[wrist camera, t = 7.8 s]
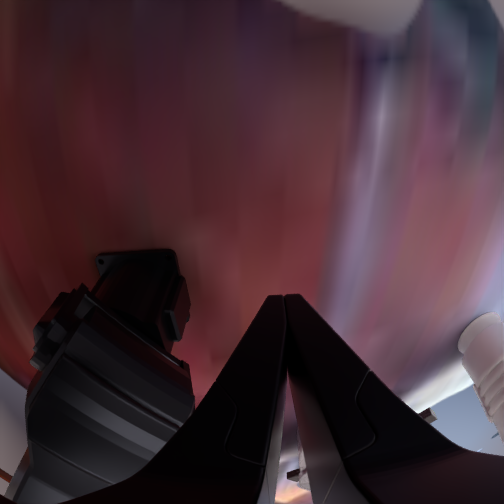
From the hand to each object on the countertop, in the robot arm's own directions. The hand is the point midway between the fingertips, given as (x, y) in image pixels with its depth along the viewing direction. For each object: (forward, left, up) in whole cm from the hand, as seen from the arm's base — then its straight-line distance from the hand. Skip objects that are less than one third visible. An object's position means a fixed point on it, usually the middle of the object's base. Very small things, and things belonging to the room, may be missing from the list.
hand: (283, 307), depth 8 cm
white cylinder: (+22, -17, -13) cm, 31 cm away
